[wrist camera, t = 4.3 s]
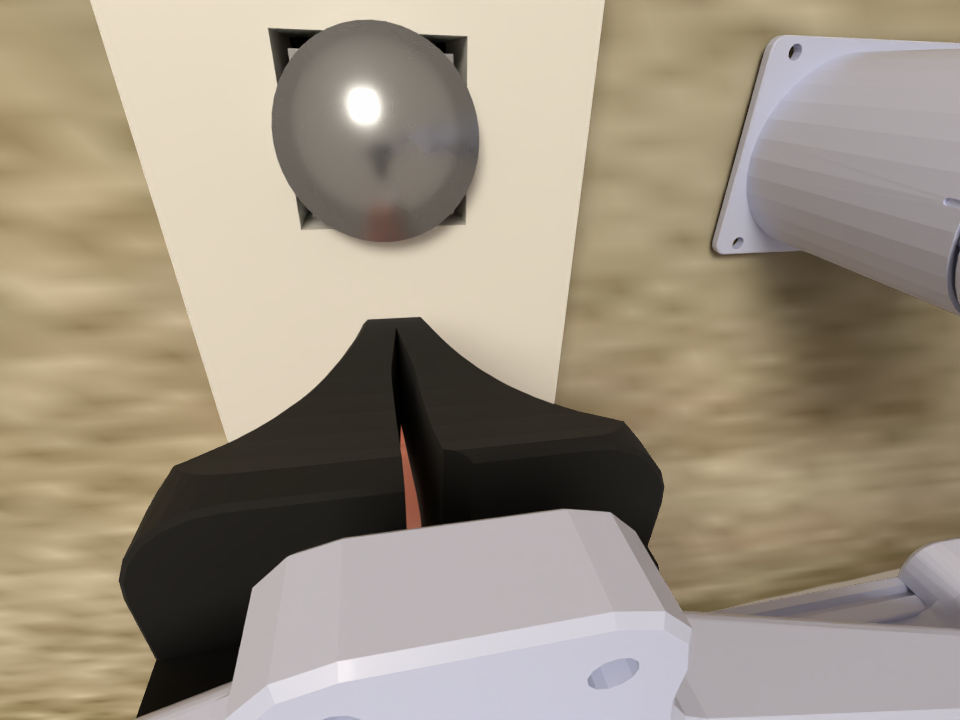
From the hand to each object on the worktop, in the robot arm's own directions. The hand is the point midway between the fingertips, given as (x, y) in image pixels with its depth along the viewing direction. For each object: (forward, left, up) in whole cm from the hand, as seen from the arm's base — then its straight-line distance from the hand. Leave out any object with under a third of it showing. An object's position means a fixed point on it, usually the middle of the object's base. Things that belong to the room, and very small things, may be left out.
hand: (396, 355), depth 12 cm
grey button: (0, -4, -8) cm, 9 cm away
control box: (0, +2, -8) cm, 9 cm away
